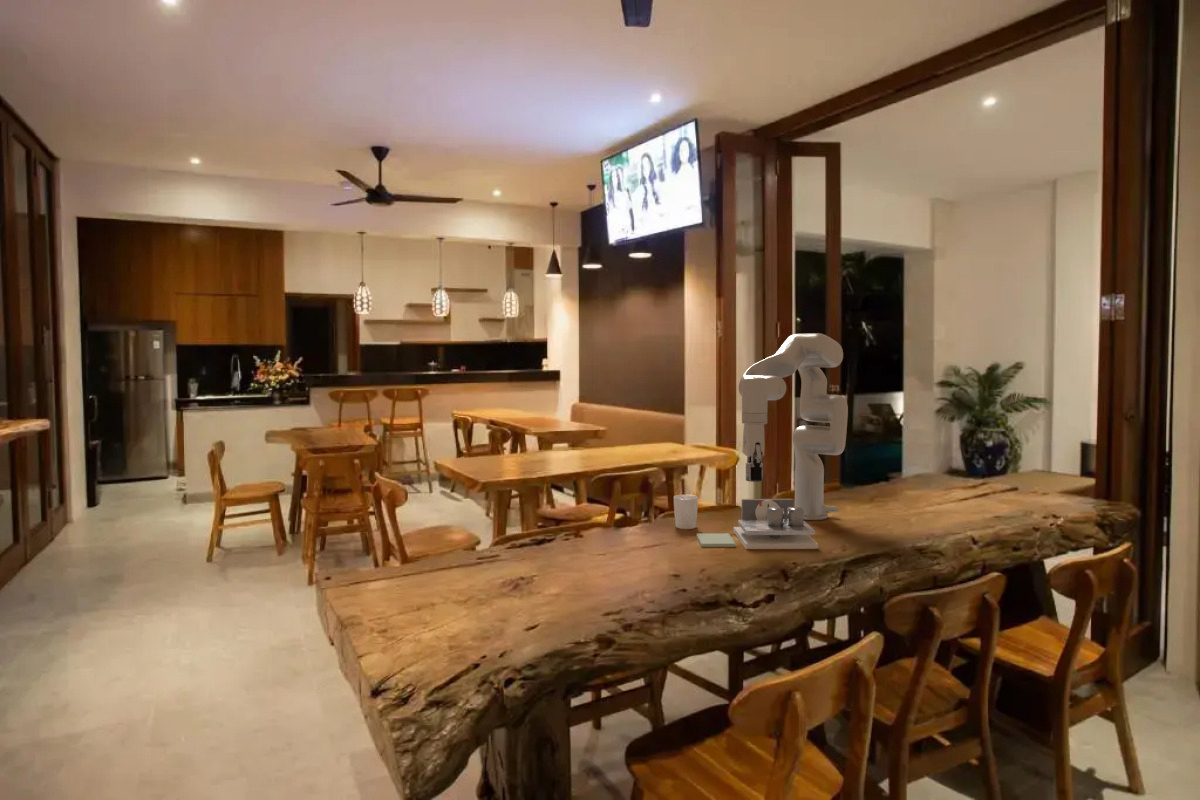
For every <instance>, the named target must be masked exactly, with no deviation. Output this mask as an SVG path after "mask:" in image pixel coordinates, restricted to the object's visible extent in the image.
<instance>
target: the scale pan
mask: <svg viewBox="0 0 1200 800" xmlns="http://www.w3.org/2000/svg"><path fill="white" fill-rule="evenodd" d="M737 524H738V527H741V528H742V530H743V531H744V532H745V534H746V535H809V536H813V535H816V530H815V529H814V528H813V527H812V526H810V525H809V524H808V523H807V522H806V520H804V526H802V527H791V526H788V525H787V520H784V526H783V527H771V526H768V525H767V520H741V519H738V521H737Z"/></svg>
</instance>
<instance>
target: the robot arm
mask: <svg viewBox="0 0 1200 800" xmlns="http://www.w3.org/2000/svg"><path fill="white" fill-rule="evenodd" d="M843 350H844V349H843V348H842V345H841V344H840V343H839V342H838V341H836V340H835V339H833V338H832V337H830V336H828V335H826V334H823V333H820V332H817V333H815V332H814V333H813V332H812V333H811V332H810V333H794V334H791V335H789V336H788V337H787V338H786V339H785V340H784V342H783V343H782V344H781V346H780V347H779V348H778V349H777V350H776V352H775V353H774V354H773V355H771V356H768V357H766V358H765V359H762V360H760V361H758V362H756V363H754V364H752V365H751V366H749V368H748V369H746V371H744V373H743V375H742V377H741V378H740V380H739V382H738V393H739V395H740V396H741V424H743V435H742V453H743V455H745V456H746V457H747V458H746V463H752V467H751V480H752V481H760V482H762V481H761V480H762V464H763V463H762V458H763V457H764V456H765V448H766V447H765V443H766V442H765V425H767V424H768V403H769V402H768V401H778V400H780V399H783V398H784V396H785V395H786V392H787V383H786V381H785V380H784V379H783V378H787V377H790V376H792V375H793V374H795V373H796V371H798V374H799V376H800V380H801V385H800V386H801V388H800V399H799V400H800V402H799V416H800V418H801V419H802V420H804V421H807V422H812V423H813V422H816V423H827V424H828V423H829V426H822V425H814V424H813V425H811V424H810V425H809V424H808V425H807V424H805V425H804V424H803V425H800V426H798V427H796V428H795V429H794V431H793V433H792V444H793V451H794V466H795V467H794V470H795V471H794V507H800V508H804V521H821V520H822V521H823V520H827V519H828V518H829V515H828V513H829V512H831V513H833V512H834V513H835V512H836V513H837V512H838V510H839V509H838V506H837V505H829V504H828V505H827V504H825V503H824V484H825V483H824V482H825V481H824V476H825V467H824V464H823V461H822V459H821V457H820V456H819V455H826V456H827V455H828V456H839V455H841V454H842V453H843V452H844V451H845V447H846V441H847V428H848V417H849V409H848V402H847V400H846V398H845V397H844V396H843V395H840V394H828V392H827V390H828V379H827V377H826V375H825V373H824V372H823V370H822V369H821V368H837V367H838V366H840V365H841V363H842V362H843V359H844V352H843Z"/></svg>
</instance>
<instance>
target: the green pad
mask: <svg viewBox="0 0 1200 800" xmlns="http://www.w3.org/2000/svg"><path fill="white" fill-rule="evenodd" d="M696 538H697V541H698V543H699V544H700V547H701V548H735V547H737V546H736V545H737V544H736V542H735V541H734V539H733V537H732V536H731V534H730V533H727V532H726V533H696Z"/></svg>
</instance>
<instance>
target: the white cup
mask: <svg viewBox="0 0 1200 800" xmlns="http://www.w3.org/2000/svg"><path fill="white" fill-rule="evenodd" d="M698 503H699V497H698V496H697V495H695V494H676V495H674V496H673V509H674V513H673V514H674V521H675V522H674V523H675V528H677V529H680V530H692V529H693V530H694V529H696V528H697V518H698V517H697V516H698V508H699V507H698Z"/></svg>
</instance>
